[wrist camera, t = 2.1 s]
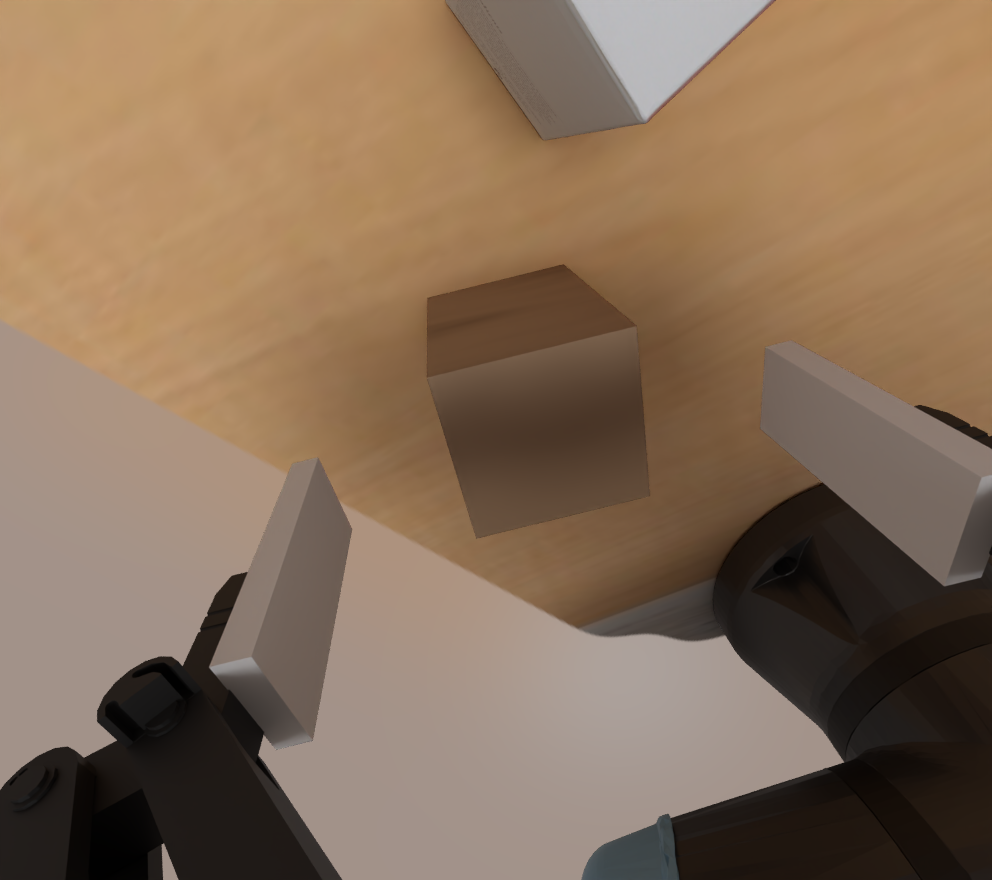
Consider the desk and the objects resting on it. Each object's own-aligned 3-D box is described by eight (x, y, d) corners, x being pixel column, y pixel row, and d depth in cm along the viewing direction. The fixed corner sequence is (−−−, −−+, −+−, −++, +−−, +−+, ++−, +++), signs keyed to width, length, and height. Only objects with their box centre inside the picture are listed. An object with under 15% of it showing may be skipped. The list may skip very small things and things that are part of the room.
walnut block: (581, 389, 25) (650, 496, 17) (461, 418, 25) (476, 538, 17) (563, 264, 22) (636, 326, 14) (427, 298, 22) (427, 377, 14)
